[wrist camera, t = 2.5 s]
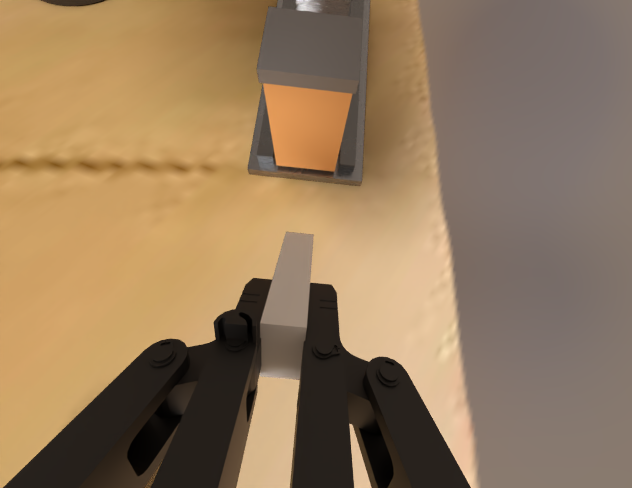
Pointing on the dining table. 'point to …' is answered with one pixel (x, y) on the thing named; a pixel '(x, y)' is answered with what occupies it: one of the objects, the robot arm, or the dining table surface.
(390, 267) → the dining table surface
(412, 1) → the dining table surface
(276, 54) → the orange tall block
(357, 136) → the gray canister tray
